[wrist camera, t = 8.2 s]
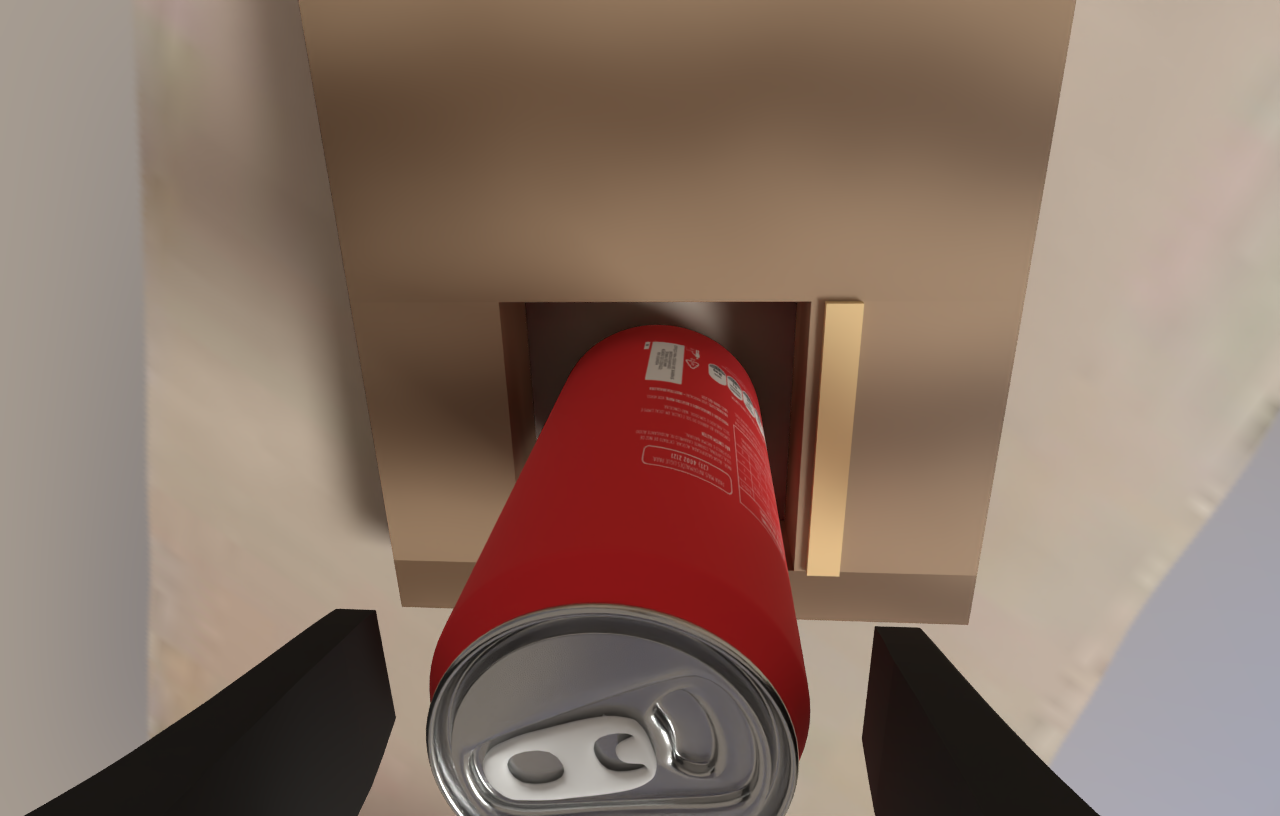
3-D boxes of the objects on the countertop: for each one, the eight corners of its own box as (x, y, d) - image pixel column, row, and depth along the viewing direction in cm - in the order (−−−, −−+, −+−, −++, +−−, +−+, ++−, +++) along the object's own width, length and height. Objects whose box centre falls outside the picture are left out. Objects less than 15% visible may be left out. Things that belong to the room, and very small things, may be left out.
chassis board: (940, 568, 22) (970, 629, 19) (432, 555, 23) (399, 611, 20) (1034, -55, 16) (1095, -83, 13) (346, -27, 17) (285, -49, 15)
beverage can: (778, 465, 21) (859, 877, 10) (602, 508, 22) (496, 927, 11) (728, 288, 19) (759, 548, 8) (539, 343, 20) (336, 643, 9)
